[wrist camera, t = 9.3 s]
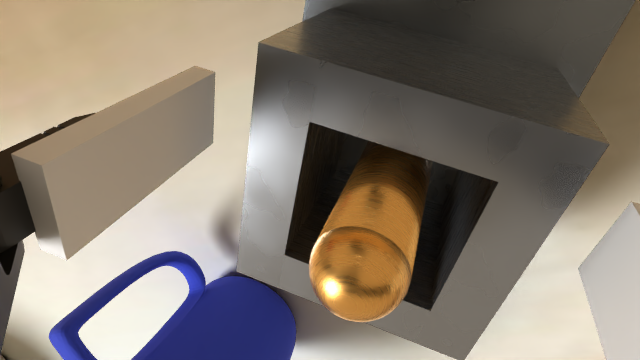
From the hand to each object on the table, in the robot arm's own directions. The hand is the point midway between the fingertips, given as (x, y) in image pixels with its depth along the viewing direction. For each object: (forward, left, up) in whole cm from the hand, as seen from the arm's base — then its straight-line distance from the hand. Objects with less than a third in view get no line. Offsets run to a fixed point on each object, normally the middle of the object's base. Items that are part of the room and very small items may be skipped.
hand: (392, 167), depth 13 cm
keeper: (-3, 0, -5) cm, 5 cm away
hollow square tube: (+1, 0, -3) cm, 4 cm away
